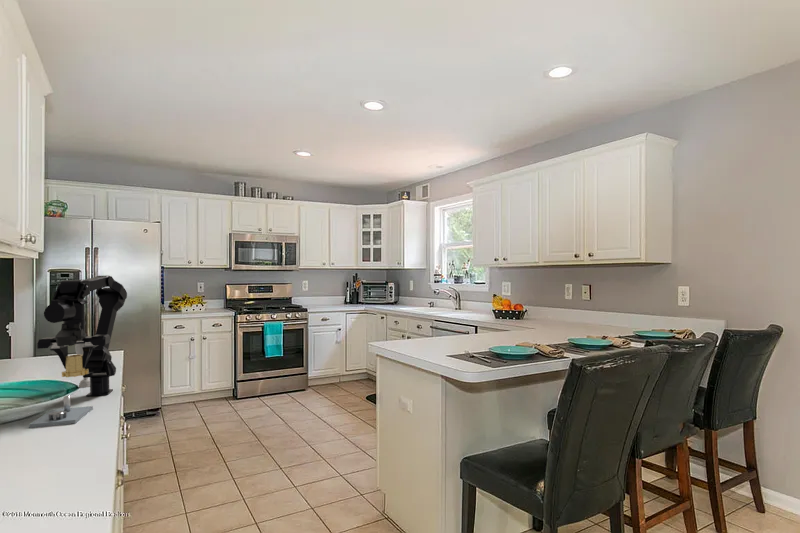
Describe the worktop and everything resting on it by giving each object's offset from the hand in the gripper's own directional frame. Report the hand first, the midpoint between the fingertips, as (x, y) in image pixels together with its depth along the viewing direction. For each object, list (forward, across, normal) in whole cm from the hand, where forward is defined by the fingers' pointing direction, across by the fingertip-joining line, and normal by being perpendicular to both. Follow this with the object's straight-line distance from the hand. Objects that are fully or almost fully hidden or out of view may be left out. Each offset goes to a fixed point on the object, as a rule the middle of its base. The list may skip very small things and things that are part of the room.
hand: (75, 368), depth 150 cm
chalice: (+12, -6, +29) cm, 32 cm away
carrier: (+12, +1, -13) cm, 18 cm away
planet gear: (+2, 0, 0) cm, 2 cm away
